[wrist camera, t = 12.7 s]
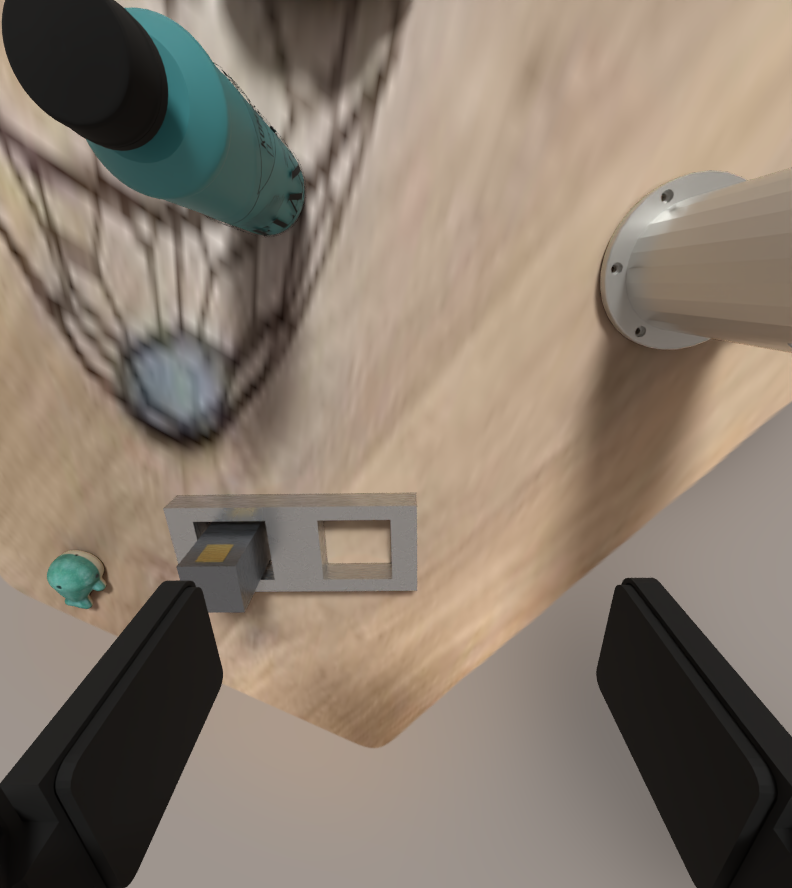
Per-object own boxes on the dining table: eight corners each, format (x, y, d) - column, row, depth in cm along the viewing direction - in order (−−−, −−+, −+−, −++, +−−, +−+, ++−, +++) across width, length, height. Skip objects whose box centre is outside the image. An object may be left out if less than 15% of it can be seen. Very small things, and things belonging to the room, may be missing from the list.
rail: (415, 492, 40) (416, 505, 38) (416, 574, 44) (417, 590, 41) (177, 495, 40) (163, 508, 38) (197, 575, 44) (186, 592, 42)
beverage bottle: (276, 258, 32) (105, 226, 14) (208, 190, 31) (-93, 49, 12) (330, 192, 30) (218, 50, 12) (261, 115, 29) (4, -187, 10)
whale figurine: (115, 553, 44) (89, 577, 40) (112, 604, 46) (87, 630, 43) (59, 539, 43) (28, 562, 39) (59, 591, 46) (30, 617, 42)
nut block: (265, 514, 41) (235, 565, 34) (272, 555, 43) (244, 612, 36) (217, 515, 41) (176, 566, 34) (225, 556, 43) (189, 612, 36)
